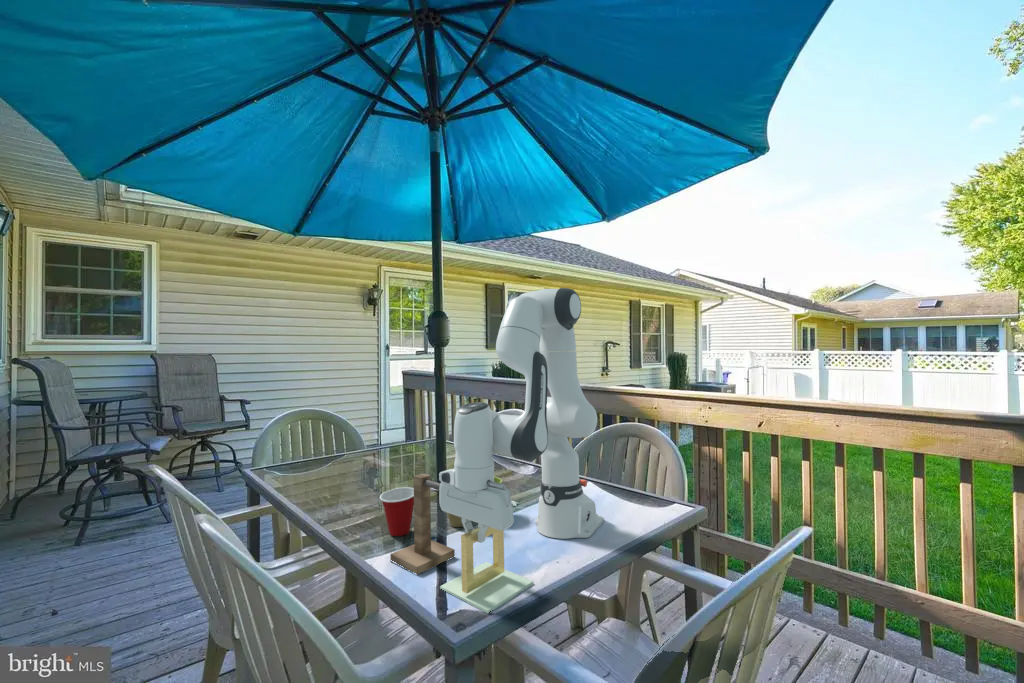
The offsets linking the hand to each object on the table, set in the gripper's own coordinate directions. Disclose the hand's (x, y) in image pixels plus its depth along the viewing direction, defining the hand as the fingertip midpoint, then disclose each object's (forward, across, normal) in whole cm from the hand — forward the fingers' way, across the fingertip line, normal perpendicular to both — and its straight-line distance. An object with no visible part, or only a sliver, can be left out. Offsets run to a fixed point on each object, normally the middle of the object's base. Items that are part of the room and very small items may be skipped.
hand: (475, 539), depth 99 cm
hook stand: (+12, +17, -2) cm, 21 cm away
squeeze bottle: (+12, +32, -24) cm, 42 cm away
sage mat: (+12, 0, -3) cm, 12 cm away
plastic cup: (+12, +41, -8) cm, 44 cm away
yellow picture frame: (+10, 0, -2) cm, 10 cm away
